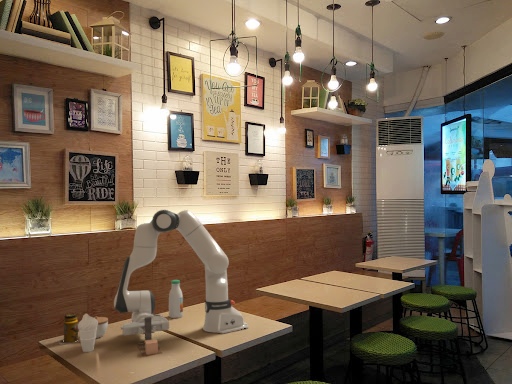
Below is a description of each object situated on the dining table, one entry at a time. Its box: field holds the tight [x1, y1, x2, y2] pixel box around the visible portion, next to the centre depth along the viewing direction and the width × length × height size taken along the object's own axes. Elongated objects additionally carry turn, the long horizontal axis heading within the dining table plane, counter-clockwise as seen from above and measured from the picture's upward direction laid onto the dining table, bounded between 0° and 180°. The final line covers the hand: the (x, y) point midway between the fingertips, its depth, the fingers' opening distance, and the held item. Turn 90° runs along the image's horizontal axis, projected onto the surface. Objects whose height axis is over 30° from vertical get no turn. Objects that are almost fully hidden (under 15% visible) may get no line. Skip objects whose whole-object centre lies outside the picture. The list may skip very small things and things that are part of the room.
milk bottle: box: [168, 279, 184, 319], centre depth 234 cm, size 8×8×20 cm
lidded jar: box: [94, 315, 109, 339], centre depth 201 cm, size 11×11×9 cm
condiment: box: [57, 313, 81, 346], centre depth 195 cm, size 7×8×12 cm
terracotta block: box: [144, 338, 159, 356], centre depth 174 cm, size 4×4×4 cm
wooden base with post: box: [137, 317, 163, 357], centre depth 179 cm, size 17×8×13 cm, turn 23°
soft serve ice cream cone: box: [78, 313, 98, 353], centre depth 181 cm, size 8×8×16 cm
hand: (148, 331), depth 181 cm, fingers closed on wooden base with post, 2 cm apart
